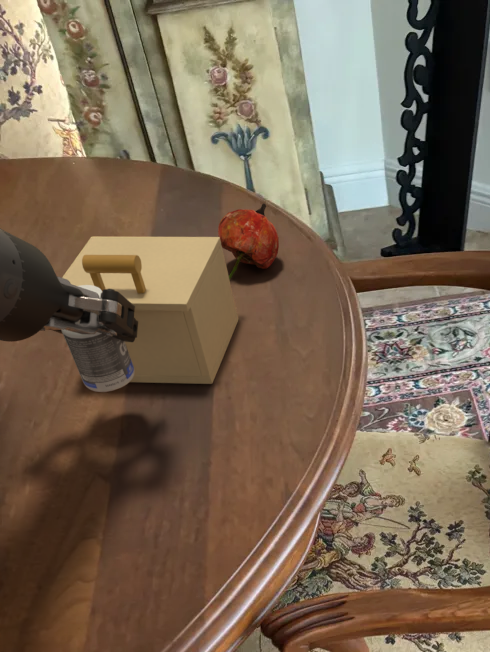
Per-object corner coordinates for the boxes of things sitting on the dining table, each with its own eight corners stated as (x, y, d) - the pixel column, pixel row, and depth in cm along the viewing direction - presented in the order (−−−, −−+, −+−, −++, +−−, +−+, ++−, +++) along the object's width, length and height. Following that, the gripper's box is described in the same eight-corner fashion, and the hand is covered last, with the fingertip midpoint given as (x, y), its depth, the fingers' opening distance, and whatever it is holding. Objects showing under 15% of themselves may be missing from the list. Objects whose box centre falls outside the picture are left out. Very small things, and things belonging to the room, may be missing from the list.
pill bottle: (143, 380, 72) (115, 299, 66) (93, 400, 70) (59, 318, 64) (124, 356, 75) (95, 276, 69) (76, 374, 73) (42, 293, 67)
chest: (212, 384, 80) (190, 307, 73) (83, 381, 81) (50, 305, 75) (238, 319, 88) (221, 244, 81) (120, 317, 89) (94, 243, 82)
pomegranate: (263, 303, 94) (307, 230, 93) (218, 271, 88) (263, 193, 87) (232, 286, 98) (273, 216, 97) (187, 254, 93) (230, 179, 92)
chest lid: (188, 311, 73) (176, 267, 70) (47, 309, 74) (28, 266, 71) (221, 244, 81) (211, 202, 78) (94, 243, 82) (79, 202, 79)
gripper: (69, 225, 53) (182, 291, 70) (-117, 213, 55) (36, 281, 72) (60, 337, 53) (174, 376, 70) (-123, 321, 56) (30, 363, 72)
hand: (104, 328), depth 71 cm, fingers closed on pill bottle, 4 cm apart
